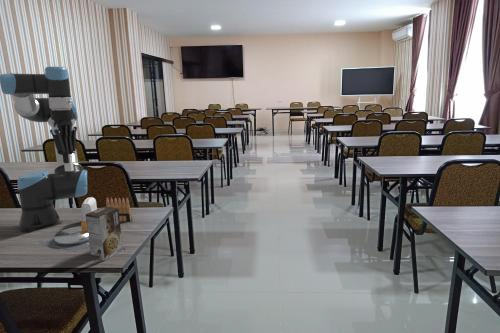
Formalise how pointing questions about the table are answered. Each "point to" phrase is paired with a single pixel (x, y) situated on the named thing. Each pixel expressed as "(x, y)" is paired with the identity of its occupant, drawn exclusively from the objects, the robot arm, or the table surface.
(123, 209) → the ammunition clip
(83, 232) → the dial
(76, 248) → the panel
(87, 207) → the photo printer
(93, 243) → the coffee box
